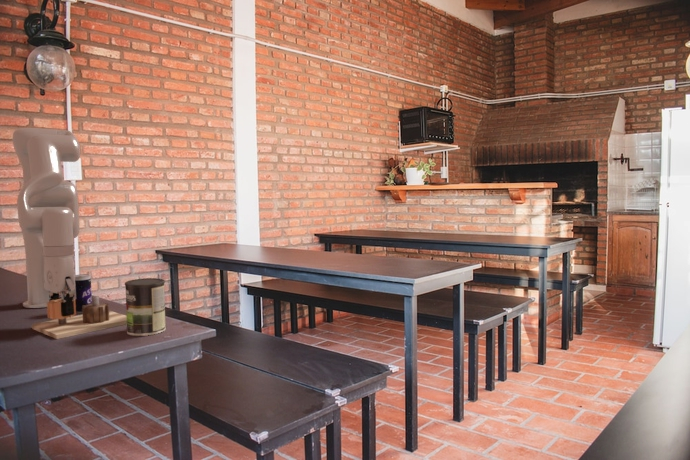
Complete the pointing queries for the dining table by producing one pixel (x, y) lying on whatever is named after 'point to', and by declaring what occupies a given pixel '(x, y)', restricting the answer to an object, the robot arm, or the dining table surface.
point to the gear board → (82, 321)
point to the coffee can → (145, 306)
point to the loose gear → (57, 309)
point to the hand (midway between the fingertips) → (62, 312)
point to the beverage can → (82, 292)
